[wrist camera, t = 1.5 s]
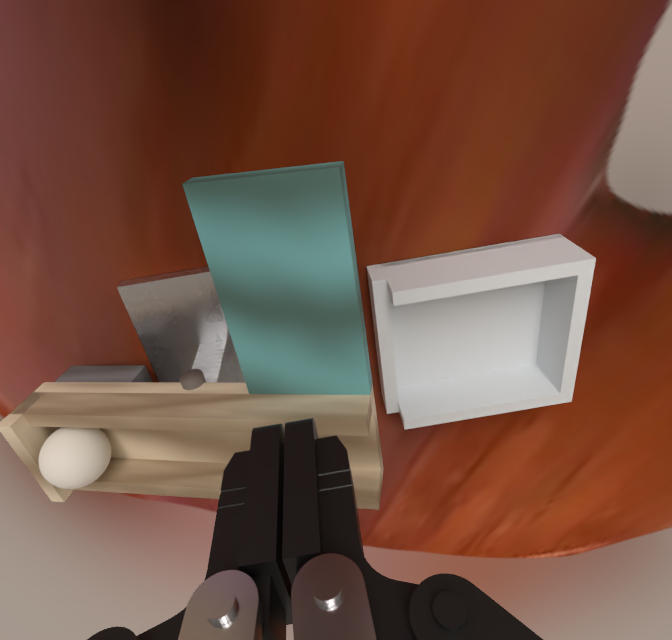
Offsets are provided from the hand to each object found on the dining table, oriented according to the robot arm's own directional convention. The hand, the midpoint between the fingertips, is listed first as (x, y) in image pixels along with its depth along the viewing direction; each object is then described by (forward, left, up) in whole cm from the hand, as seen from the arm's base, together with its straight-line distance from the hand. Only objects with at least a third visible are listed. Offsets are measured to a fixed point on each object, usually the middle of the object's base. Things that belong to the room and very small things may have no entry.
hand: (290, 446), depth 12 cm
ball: (+11, -16, -13) cm, 23 cm away
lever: (+5, -7, -16) cm, 18 cm away
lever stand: (+11, -8, -21) cm, 25 cm away
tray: (+11, +11, -21) cm, 26 cm away
